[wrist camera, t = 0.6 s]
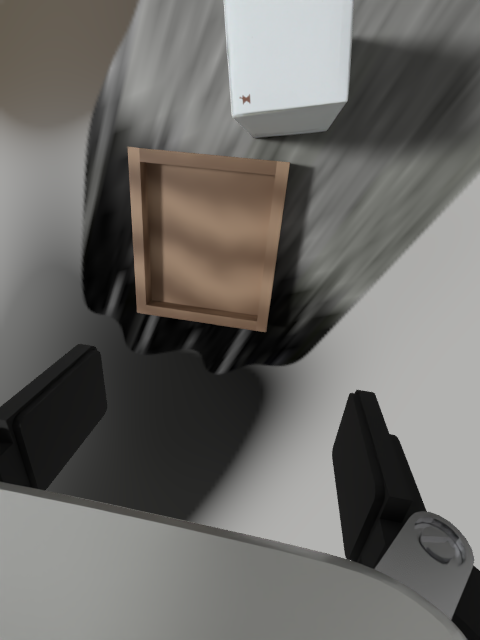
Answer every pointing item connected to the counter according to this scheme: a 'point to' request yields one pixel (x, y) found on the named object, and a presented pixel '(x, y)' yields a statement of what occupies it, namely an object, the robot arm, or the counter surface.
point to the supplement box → (288, 63)
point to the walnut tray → (206, 235)
